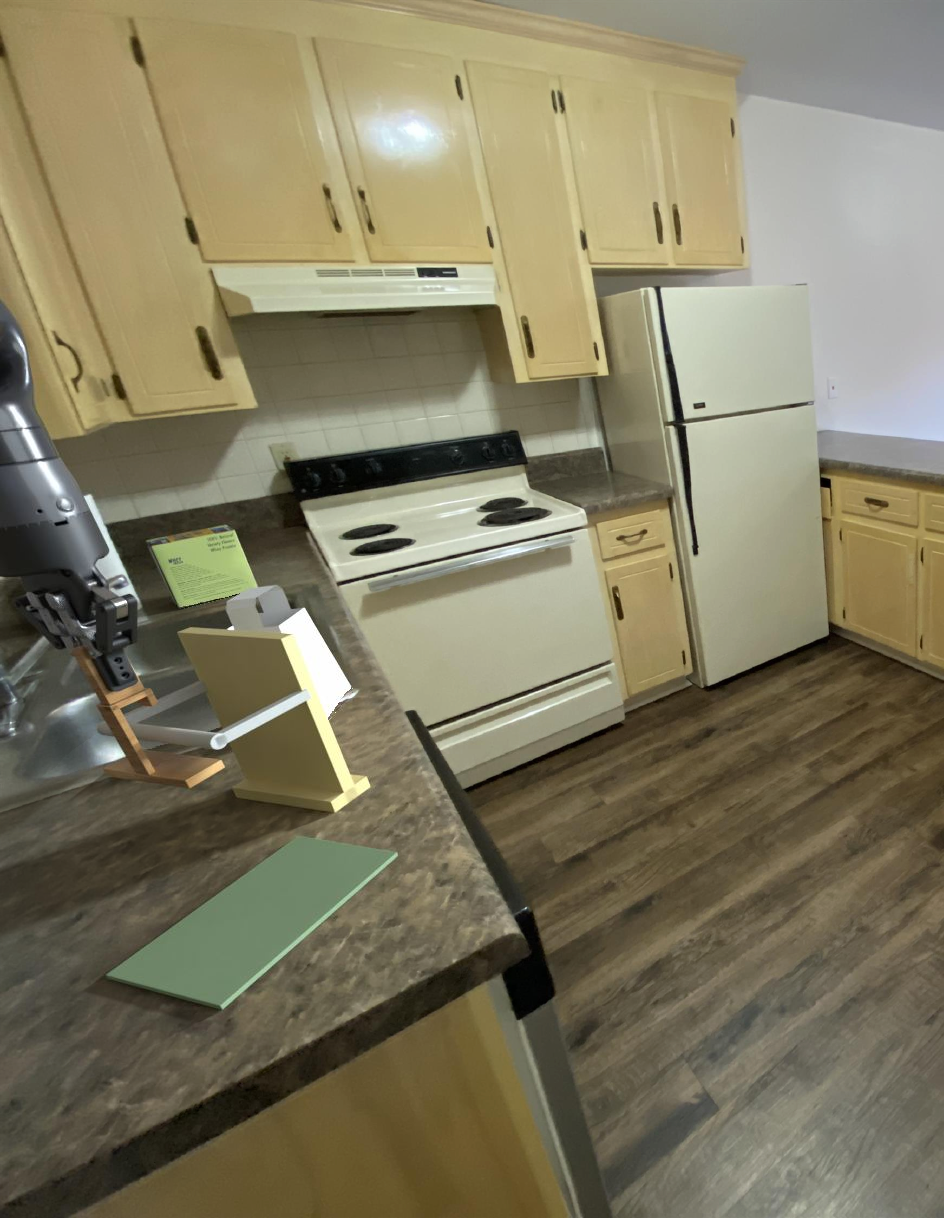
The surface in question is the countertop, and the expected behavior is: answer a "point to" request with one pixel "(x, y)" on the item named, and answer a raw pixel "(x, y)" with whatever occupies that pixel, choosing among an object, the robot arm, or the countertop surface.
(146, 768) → the phone stand
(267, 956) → the mat
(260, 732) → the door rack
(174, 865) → the countertop surface
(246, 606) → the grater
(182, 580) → the protein box
